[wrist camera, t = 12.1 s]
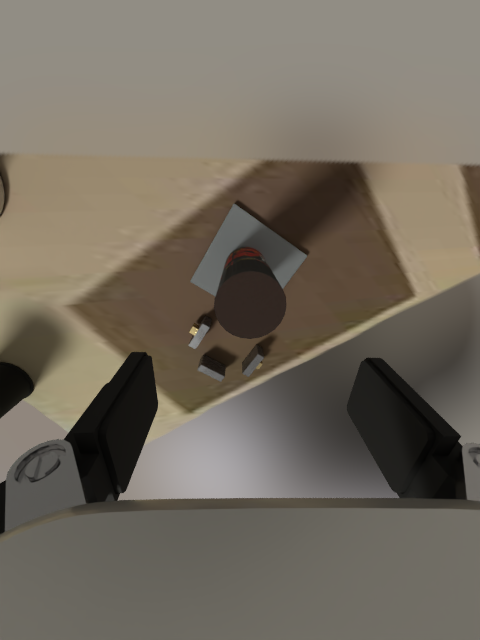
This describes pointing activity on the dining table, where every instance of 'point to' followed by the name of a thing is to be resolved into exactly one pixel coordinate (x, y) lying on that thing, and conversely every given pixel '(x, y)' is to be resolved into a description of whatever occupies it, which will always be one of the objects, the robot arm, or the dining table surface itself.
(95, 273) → the dining table surface
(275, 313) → the deodorant
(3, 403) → the aerosol can
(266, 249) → the coaster
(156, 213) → the dining table surface
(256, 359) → the collar
